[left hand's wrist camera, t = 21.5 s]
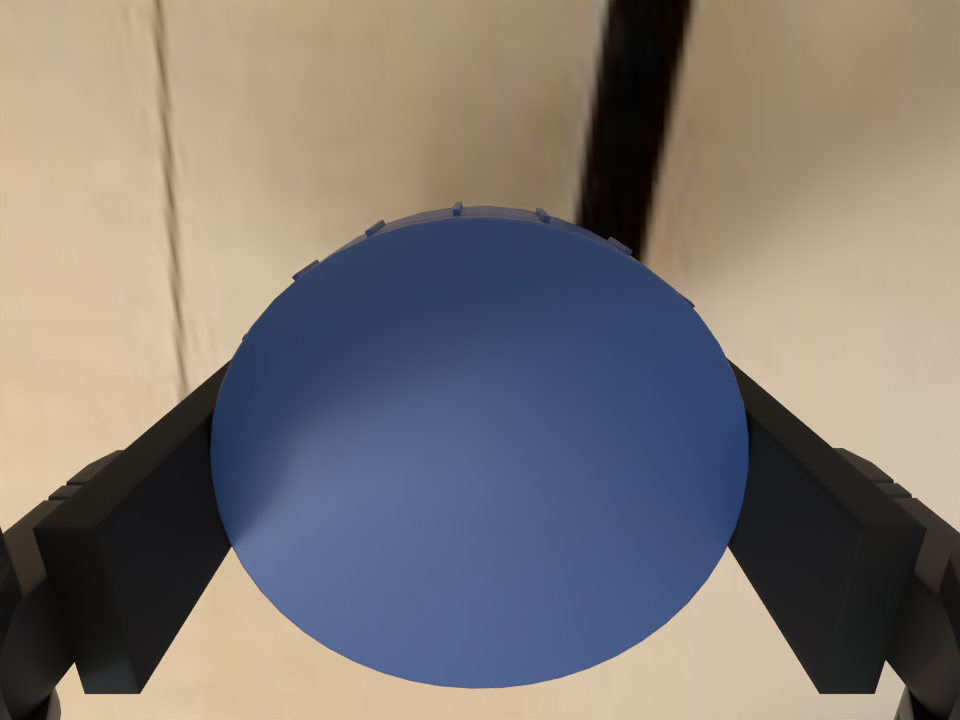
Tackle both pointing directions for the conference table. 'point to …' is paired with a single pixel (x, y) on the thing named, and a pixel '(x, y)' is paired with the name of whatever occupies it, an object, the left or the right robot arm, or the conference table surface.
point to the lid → (479, 449)
